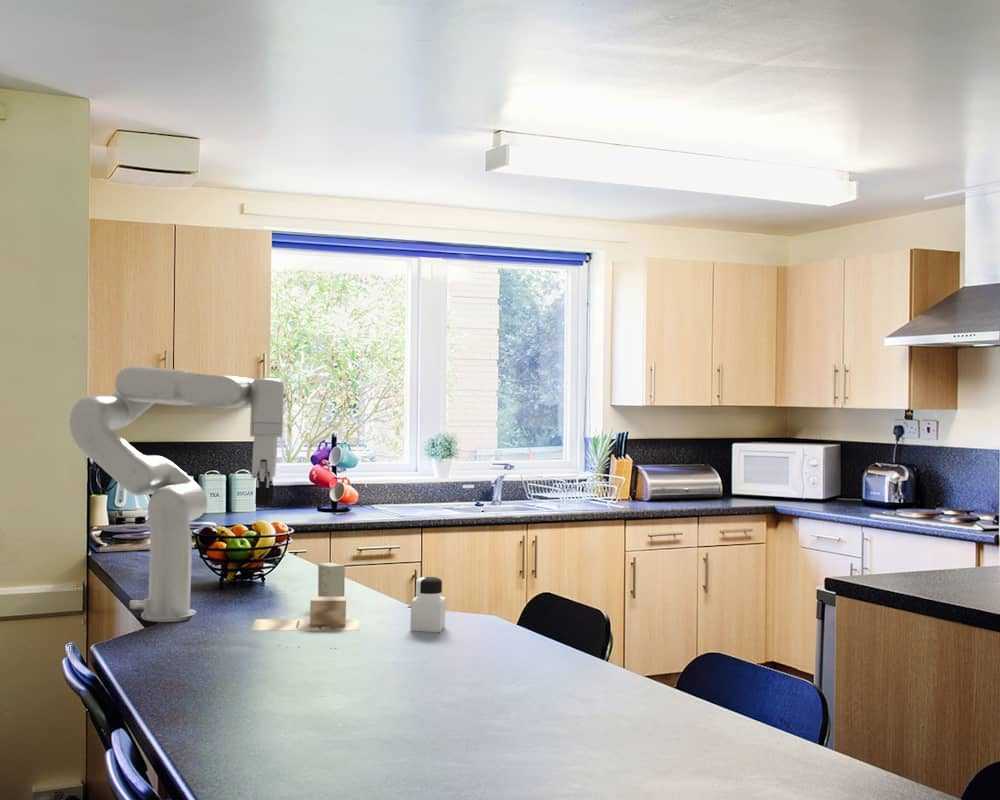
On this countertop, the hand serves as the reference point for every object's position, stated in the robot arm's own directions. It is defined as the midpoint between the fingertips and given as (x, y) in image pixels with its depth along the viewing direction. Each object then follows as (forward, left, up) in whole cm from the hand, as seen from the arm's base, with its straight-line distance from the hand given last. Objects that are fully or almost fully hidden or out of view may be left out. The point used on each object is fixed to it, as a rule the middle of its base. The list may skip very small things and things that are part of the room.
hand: (264, 502), depth 249 cm
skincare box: (+16, +12, -28) cm, 35 cm away
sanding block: (+16, -8, -27) cm, 32 cm away
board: (+11, -8, -28) cm, 31 cm away
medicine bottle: (+39, -7, -28) cm, 49 cm away
